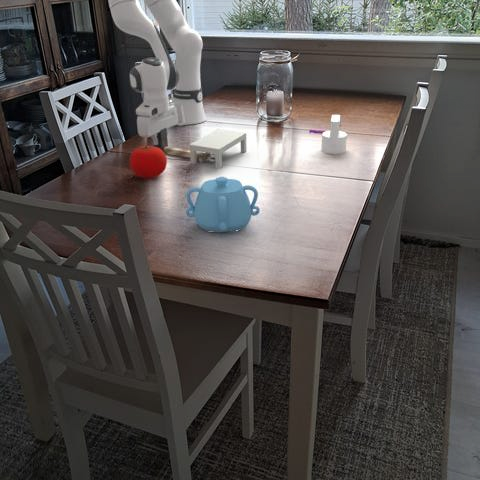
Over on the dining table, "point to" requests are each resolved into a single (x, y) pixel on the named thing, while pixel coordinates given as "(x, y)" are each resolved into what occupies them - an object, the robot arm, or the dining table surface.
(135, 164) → the tomato
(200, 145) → the low bench
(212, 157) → the steel puck
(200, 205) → the decorative pot
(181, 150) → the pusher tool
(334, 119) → the cylinder with rectangular tab
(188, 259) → the dining table surface
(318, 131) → the squeegee
